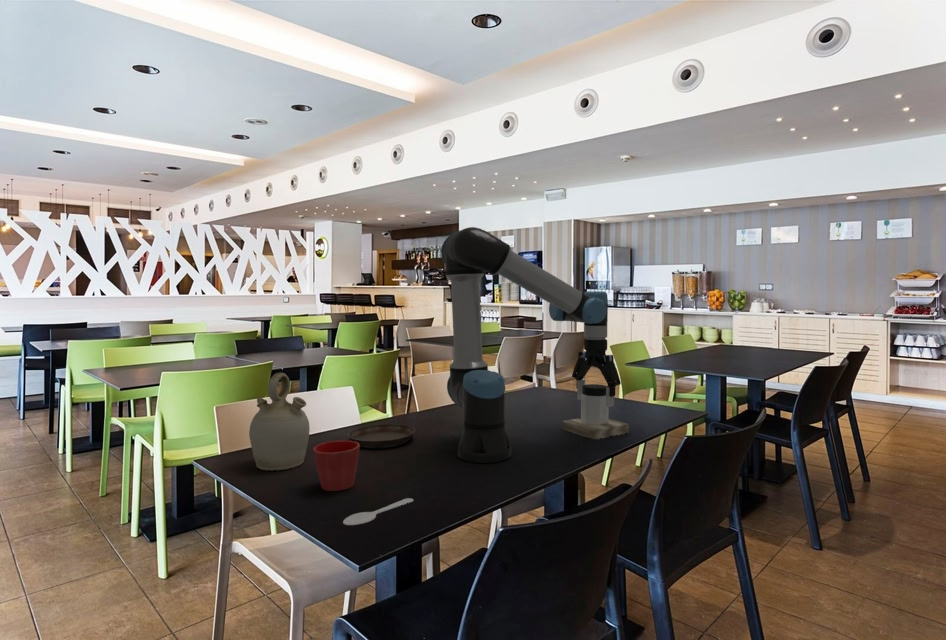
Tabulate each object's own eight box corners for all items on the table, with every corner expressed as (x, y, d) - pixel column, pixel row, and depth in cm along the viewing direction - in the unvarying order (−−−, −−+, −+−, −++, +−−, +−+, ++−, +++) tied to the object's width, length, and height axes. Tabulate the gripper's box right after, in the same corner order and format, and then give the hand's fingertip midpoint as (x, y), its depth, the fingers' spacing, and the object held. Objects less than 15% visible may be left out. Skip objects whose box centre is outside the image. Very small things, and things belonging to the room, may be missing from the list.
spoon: (420, 503, 123) (420, 501, 123) (352, 529, 109) (352, 527, 109) (404, 497, 126) (404, 495, 126) (336, 522, 113) (336, 519, 113)
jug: (322, 460, 154) (320, 370, 152) (276, 476, 140) (274, 378, 139) (284, 452, 161) (282, 367, 160) (237, 467, 148) (235, 374, 147)
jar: (596, 426, 177) (596, 389, 176) (576, 422, 183) (576, 386, 182) (613, 422, 183) (613, 386, 182) (593, 418, 189) (593, 383, 188)
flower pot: (305, 486, 133) (304, 446, 133) (345, 475, 141) (344, 437, 141) (328, 497, 126) (327, 455, 125) (369, 485, 134) (368, 445, 133)
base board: (594, 439, 173) (594, 430, 172) (562, 429, 185) (562, 420, 185) (628, 433, 180) (628, 424, 180) (596, 423, 193) (596, 415, 193)
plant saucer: (335, 448, 167) (334, 437, 166) (368, 431, 186) (368, 421, 186) (397, 453, 160) (397, 442, 160) (425, 435, 180) (425, 425, 180)
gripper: (632, 340, 172) (631, 408, 174) (578, 335, 194) (578, 395, 195) (615, 341, 169) (614, 411, 170) (561, 336, 190) (561, 397, 191)
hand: (595, 402), depth 182 cm, fingers open, 13 cm apart
